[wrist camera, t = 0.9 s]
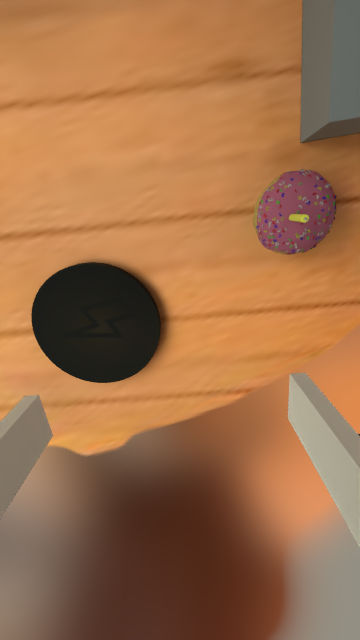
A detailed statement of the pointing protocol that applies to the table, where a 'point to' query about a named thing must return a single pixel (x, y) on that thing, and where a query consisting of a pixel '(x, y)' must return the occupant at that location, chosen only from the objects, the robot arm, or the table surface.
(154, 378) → the table surface
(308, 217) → the cupcake
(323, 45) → the plinth
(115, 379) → the wireless charger
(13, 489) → the robot arm
